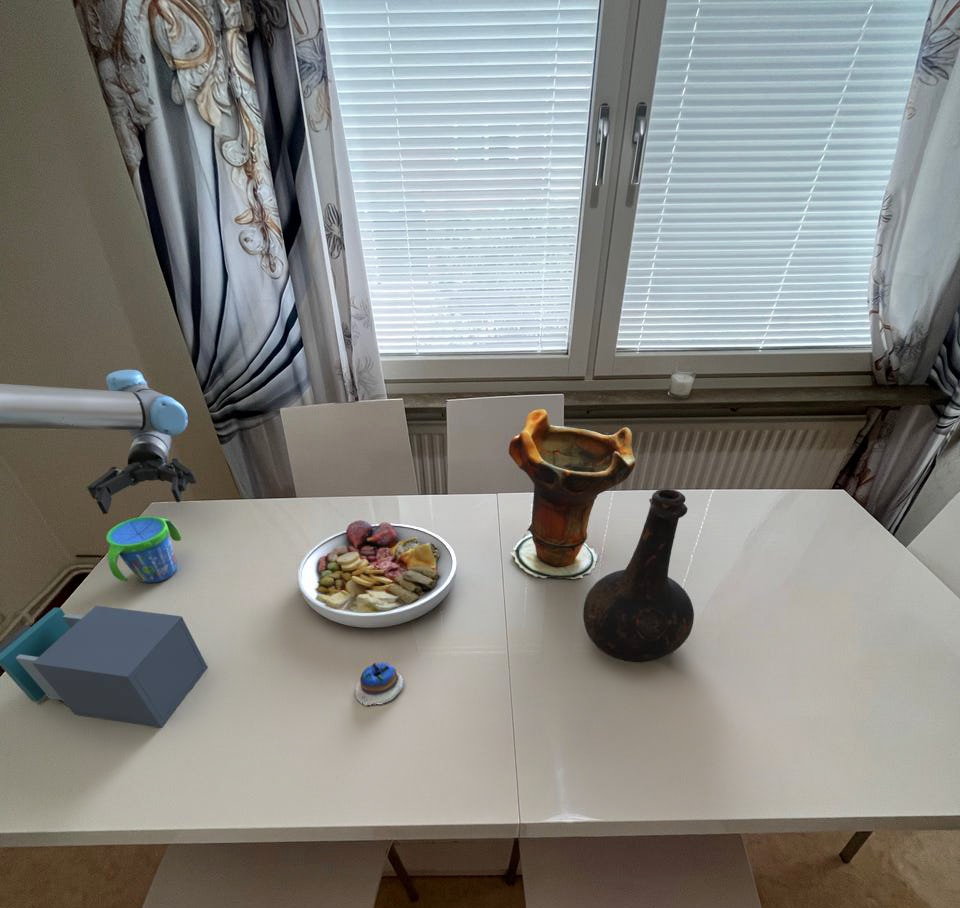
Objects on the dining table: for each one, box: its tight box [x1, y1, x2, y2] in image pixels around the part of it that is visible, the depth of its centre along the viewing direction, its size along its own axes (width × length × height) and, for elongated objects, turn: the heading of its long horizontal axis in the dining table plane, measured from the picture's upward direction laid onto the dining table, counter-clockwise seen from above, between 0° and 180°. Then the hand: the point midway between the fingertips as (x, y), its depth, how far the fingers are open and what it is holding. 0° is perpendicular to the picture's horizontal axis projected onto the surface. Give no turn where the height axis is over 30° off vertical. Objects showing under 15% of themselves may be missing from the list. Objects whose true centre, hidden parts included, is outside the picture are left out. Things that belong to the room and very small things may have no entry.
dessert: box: [354, 662, 404, 706], centre depth 85 cm, size 8×7×6 cm
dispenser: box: [32, 605, 209, 729], centre depth 81 cm, size 15×13×11 cm
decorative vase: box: [508, 408, 636, 580], centre depth 103 cm, size 21×23×28 cm
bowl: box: [296, 519, 457, 629], centre depth 102 cm, size 30×30×8 cm
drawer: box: [0, 607, 85, 703], centre depth 83 cm, size 20×12×9 cm, turn 80°
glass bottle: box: [582, 488, 695, 664], centre depth 84 cm, size 18×18×28 cm
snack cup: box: [105, 516, 182, 584], centre depth 105 cm, size 16×10×10 cm
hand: (139, 501), depth 107 cm, fingers open, 13 cm apart
